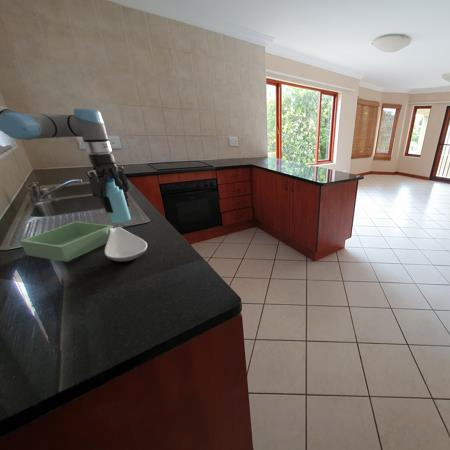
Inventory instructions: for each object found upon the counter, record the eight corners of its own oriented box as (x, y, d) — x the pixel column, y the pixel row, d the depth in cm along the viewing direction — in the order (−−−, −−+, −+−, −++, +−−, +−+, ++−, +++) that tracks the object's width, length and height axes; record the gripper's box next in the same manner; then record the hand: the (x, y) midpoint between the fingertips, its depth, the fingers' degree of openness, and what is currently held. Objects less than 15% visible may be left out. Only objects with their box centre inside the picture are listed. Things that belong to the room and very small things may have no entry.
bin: (27, 256, 81) (19, 240, 78) (81, 235, 96) (76, 221, 94) (67, 263, 77) (60, 246, 75) (117, 239, 93) (112, 225, 90)
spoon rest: (154, 257, 82) (149, 238, 79) (113, 271, 73) (106, 251, 71) (132, 235, 96) (127, 219, 93) (96, 245, 88) (89, 228, 85)
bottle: (107, 222, 100) (93, 179, 93) (122, 216, 106) (109, 176, 99) (121, 223, 98) (107, 180, 91) (134, 218, 105) (123, 177, 97)
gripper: (81, 156, 82) (102, 218, 91) (130, 150, 99) (144, 203, 108) (64, 156, 83) (87, 216, 92) (116, 150, 101) (130, 201, 110)
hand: (118, 209), depth 100 cm, fingers closed on bottle, 7 cm apart
